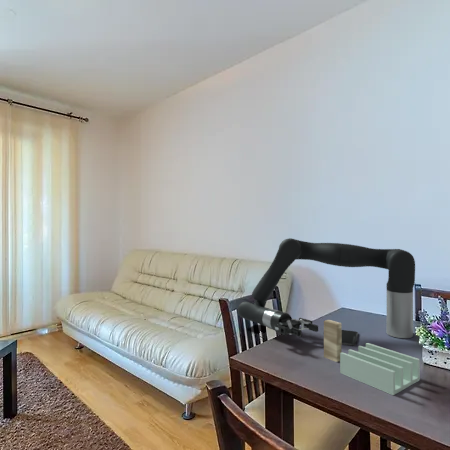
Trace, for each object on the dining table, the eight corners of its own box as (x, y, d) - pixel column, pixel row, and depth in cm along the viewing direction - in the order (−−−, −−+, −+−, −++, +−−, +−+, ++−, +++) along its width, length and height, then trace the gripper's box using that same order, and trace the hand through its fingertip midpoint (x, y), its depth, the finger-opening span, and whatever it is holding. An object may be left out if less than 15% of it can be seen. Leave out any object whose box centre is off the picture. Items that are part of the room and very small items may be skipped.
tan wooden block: (328, 355, 116) (328, 319, 115) (341, 360, 112) (341, 323, 111) (323, 357, 114) (323, 320, 114) (336, 362, 110) (336, 324, 110)
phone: (332, 341, 127) (337, 329, 140) (332, 344, 127) (337, 331, 140) (355, 344, 123) (358, 331, 137) (355, 347, 123) (358, 334, 137)
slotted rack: (367, 361, 110) (367, 342, 110) (419, 380, 97) (419, 359, 97) (340, 373, 102) (340, 352, 102) (393, 395, 89) (393, 372, 89)
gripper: (262, 313, 130) (295, 324, 116) (289, 307, 138) (322, 317, 125) (263, 333, 130) (295, 346, 116) (289, 326, 138) (322, 337, 125)
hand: (309, 331), depth 121 cm, fingers open, 8 cm apart
